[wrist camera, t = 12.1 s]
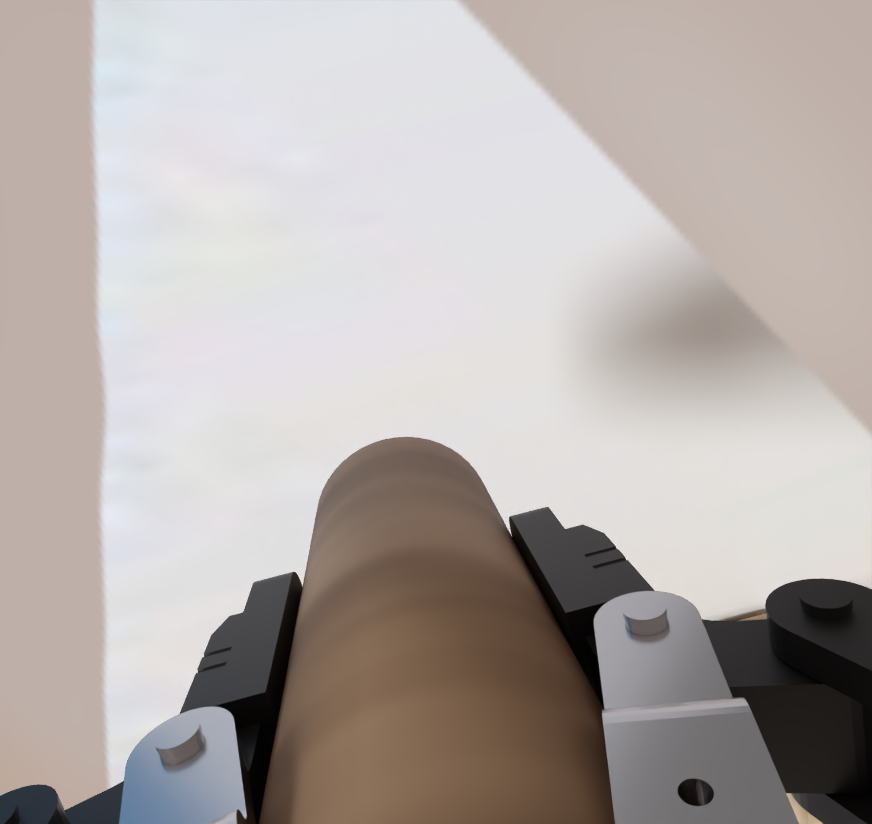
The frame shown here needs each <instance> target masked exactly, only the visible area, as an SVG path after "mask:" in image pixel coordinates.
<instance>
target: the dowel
mask: <svg viewBox="0 0 872 824" xmlns="http://www.w3.org/2000/svg"><path fill="white" fill-rule="evenodd" d="M602 709H604V708H603V706H602V705H601V703H600V701H599V699H598V697H597V695H596V693H595V691H594V690H593V688H592V686H591V684H590V682H589V680H588V678H587V677H586V675H585V673H584V671H583V669H582V667H581V665H580V663H579V662H578V660H577V658H576V656H575V654H574V652H573V650H572V648H571V647H570V645H569V643H568V641H567V639H566V637H565V635H564V633H563V632H562V630H561V628H560V626H559V624H558V622H557V620H556V619H555V617H554V615H553V613H552V611H551V609H550V607H549V605H548V604H547V602H546V600H545V598H544V596H543V594H542V592H541V590H540V589H539V587H538V585H537V583H536V581H535V579H534V577H533V575H532V574H531V572H530V570H529V568H528V566H527V564H526V562H525V560H524V559H523V557H522V555H521V553H520V551H519V549H518V547H517V546H516V544H515V542H514V540H513V538H512V536H511V534H510V532H509V531H508V529H507V527H506V525H505V523H504V521H503V519H502V517H501V516H500V514H499V512H498V510H497V508H496V506H495V504H494V502H493V501H492V499H491V497H490V495H489V493H488V491H487V489H486V488H485V486H484V484H483V482H482V480H481V478H480V477H479V475H478V474H477V472H476V471H475V469H474V468H473V467H472V466H471V465H470V464H469V462H467V461H466V460H465V459H464V458H463V457H462V456H461V455H459V454H458V453H456V452H455V451H453V450H452V449H450V448H448V447H446V446H444V445H442V444H440V443H437V442H434V441H431V440H427V439H422V438H414V437H398V438H391V439H385V440H381V441H378V442H375V443H372V444H370V445H368V446H366V447H363V448H361V449H360V450H358V451H357V452H355V453H353V454H352V455H351V456H349V457H348V458H347V459H346V460H344V461H343V462H342V463H341V464H340V465H339V466H338V468H337V469H336V470H335V471H334V472H333V474H332V475H331V476H330V478H329V479H328V481H327V483H326V485H325V487H324V489H323V491H322V494H321V496H320V499H319V503H318V508H317V513H316V518H315V524H314V529H313V534H312V540H311V545H310V551H309V556H308V561H307V567H306V572H305V577H304V583H303V588H302V593H301V599H300V604H299V610H298V615H297V620H296V626H295V631H294V636H293V642H292V647H291V653H290V658H289V663H288V669H287V674H286V679H285V685H284V690H283V696H282V701H281V706H280V712H279V717H278V722H277V728H276V733H275V739H274V744H273V749H272V755H271V760H270V765H269V771H268V776H267V781H266V787H265V792H264V798H263V803H262V808H261V814H260V819H259V824H615V818H614V810H613V802H612V793H611V785H610V777H609V769H608V760H607V752H606V744H605V735H604V727H603V718H602Z"/></svg>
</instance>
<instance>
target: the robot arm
mask: <svg viewBox="0 0 872 824" xmlns="http://www.w3.org/2000/svg"><path fill="white" fill-rule="evenodd" d="M509 523H510V529H511V534H512V538H513V540H514V542H515V544H516V546H517V547H518V549H519V551H520V553H521V555H522V557H523V559H524V560H525V562H526V564H527V566H528V568H529V570H530V572H531V574H532V575H533V577H534V579H535V581H536V583H537V585H538V587H539V589H540V590H541V592H542V594H543V596H544V598H545V600H546V602H547V604H548V605H549V607H550V609H551V611H552V613H553V615H554V617H555V619H556V620H557V622H558V624H559V626H560V628H561V630H562V632H563V633H564V635H565V637H566V639H567V641H568V643H569V645H570V647H571V648H572V650H573V652H574V654H575V656H576V658H577V660H578V662H579V663H580V665H581V667H582V669H583V671H584V673H585V675H586V677H587V678H588V680H589V682H590V684H591V686H592V688H593V690H594V691H595V693H596V695H597V697H598V699H599V701H600V703H601V705H602V706H603V708H604V709H602V718H603V727H604V735H605V744H606V752H607V760H608V769H609V777H610V785H611V793H612V802H613V810H614V818H615V824H799V822H798V820H797V818H796V815H795V813H794V810H793V808H792V806H791V803H790V801H789V799H788V796H787V794H786V793H791V794H792V796H793V797H794V799H795V800H796V801H797V803H798V804H799V805H800V806H801V807H802V808H803V809H805V810H806V811H807V812H808V813H810V814H811V815H812V816H814V817H815V818H816V819H818V820H819V821H820V822H822V823H823V824H872V589H869V588H867V587H864V586H861V585H858V584H855V583H851V582H846V581H841V580H834V579H807V580H800V581H795V582H791V583H788V584H785V585H783V586H781V587H778V588H777V589H776V590H774V591H773V592H772V593H771V594H770V595H769V596H768V598H767V600H766V605H765V606H766V614H767V619H760V620H742V621H710V620H703V619H701V616H700V614H699V612H698V610H697V608H696V607H695V606H694V605H693V604H692V603H691V602H689V601H688V600H686V599H684V598H682V597H680V596H677V595H674V594H671V593H666V592H659V591H654V590H653V588H652V587H651V586H650V585H649V584H648V583H647V582H646V580H645V579H644V578H643V577H642V576H641V575H640V574H639V572H638V571H637V570H636V569H635V568H634V567H633V566H632V564H631V563H630V562H629V561H628V560H627V561H626V558H625V557H624V555H623V554H622V553H621V552H620V551H619V550H618V549H616V546H615V545H614V544H613V543H612V542H611V541H610V539H609V538H608V537H607V536H606V535H605V534H604V533H602V532H600V531H597V530H595V529H592V528H590V527H588V526H585V525H580V526H576V527H572V528H568V529H564V527H563V526H562V525H561V523H560V522H559V521H558V519H557V518H556V517H555V515H554V514H553V513H552V511H551V510H550V509H549V508H548V507H545V508H541V509H537V510H533V511H529V512H525V513H522V514H518V515H514V516H510V517H509ZM302 588H303V587H302V584H301V582H300V579H299V577H298V575H297V574H296V572H291V573H288V574H284V575H280V576H276V577H272V578H268V579H264V580H260V581H257V582H254V583H253V586H252V588H251V591H250V594H249V597H248V600H247V603H246V606H245V609H244V612H243V613H240V614H236V615H232V616H229V617H228V618H227V619H226V620H225V621H224V623H223V624H222V625H221V626H220V627H219V628H218V629H217V630H216V631H215V632H214V633H213V634H212V635H211V637H210V640H209V642H208V645H207V647H206V650H205V652H204V657H203V658H202V660H201V662H200V665H199V667H198V673H196V675H195V677H194V680H193V682H192V685H191V687H190V690H189V692H188V695H187V697H186V699H185V702H184V704H183V707H182V709H181V712H180V714H179V715H177V716H175V717H173V718H171V719H169V720H167V721H165V722H164V723H162V724H161V725H159V726H158V727H156V728H155V729H153V730H152V731H151V732H150V733H148V734H147V735H146V736H145V737H144V738H143V739H142V740H141V741H140V742H139V743H138V744H137V746H136V747H135V748H134V749H133V751H132V752H131V754H130V756H129V758H128V760H127V764H126V768H125V777H124V781H123V782H121V783H119V784H118V785H116V786H114V787H112V788H110V789H108V790H106V791H104V792H102V793H100V794H98V795H96V796H94V797H92V798H89V799H87V800H86V801H83V802H81V803H79V804H77V805H75V806H73V807H71V808H69V809H67V810H64V808H63V806H62V804H61V801H60V799H59V797H58V795H57V793H56V791H55V790H54V789H53V788H52V787H50V786H47V785H30V786H26V787H22V788H19V789H16V790H13V791H10V792H8V793H5V794H3V795H1V796H0V824H259V819H260V814H261V808H262V803H263V798H264V792H265V787H266V781H267V776H268V771H269V765H270V760H271V755H272V749H273V744H274V739H275V733H276V728H277V722H278V717H279V712H280V706H281V701H282V696H283V690H284V685H285V679H286V674H287V669H288V663H289V658H290V653H291V647H292V642H293V636H294V631H295V626H296V620H297V615H298V610H299V604H300V599H301V593H302Z"/></svg>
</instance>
